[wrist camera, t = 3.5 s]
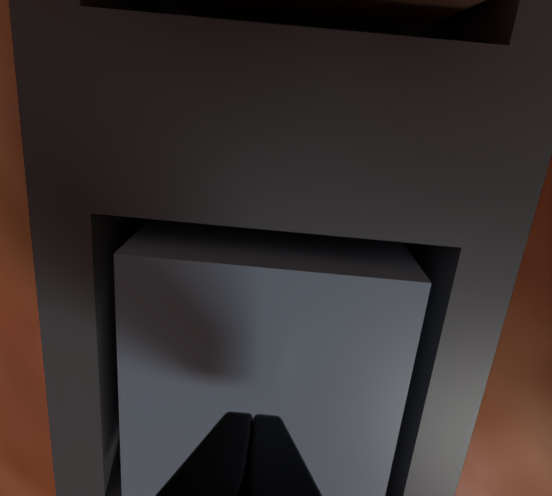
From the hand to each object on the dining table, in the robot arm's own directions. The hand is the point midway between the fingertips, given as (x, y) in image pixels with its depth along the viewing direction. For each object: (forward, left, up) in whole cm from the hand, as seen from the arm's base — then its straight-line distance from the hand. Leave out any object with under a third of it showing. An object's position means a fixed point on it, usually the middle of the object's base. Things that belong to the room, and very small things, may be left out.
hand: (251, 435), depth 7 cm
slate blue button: (0, 0, -5) cm, 5 cm away
